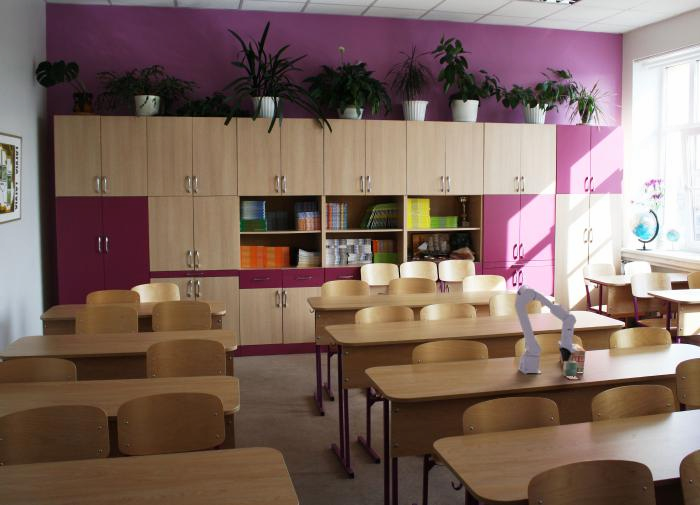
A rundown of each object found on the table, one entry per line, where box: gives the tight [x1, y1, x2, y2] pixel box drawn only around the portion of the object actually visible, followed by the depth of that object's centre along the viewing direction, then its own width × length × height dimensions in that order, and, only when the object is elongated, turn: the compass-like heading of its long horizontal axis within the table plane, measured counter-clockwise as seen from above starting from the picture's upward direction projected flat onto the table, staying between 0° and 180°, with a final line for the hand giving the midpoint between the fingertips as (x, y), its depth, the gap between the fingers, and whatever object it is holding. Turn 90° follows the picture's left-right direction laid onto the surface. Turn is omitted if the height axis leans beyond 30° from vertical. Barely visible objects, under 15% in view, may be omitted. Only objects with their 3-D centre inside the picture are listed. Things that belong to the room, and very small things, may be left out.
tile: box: [562, 361, 577, 377], centre depth 352 cm, size 6×2×7 cm, turn 100°
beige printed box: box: [559, 343, 586, 373], centre depth 367 cm, size 21×6×12 cm, turn 0°
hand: (565, 362), depth 357 cm, fingers closed
